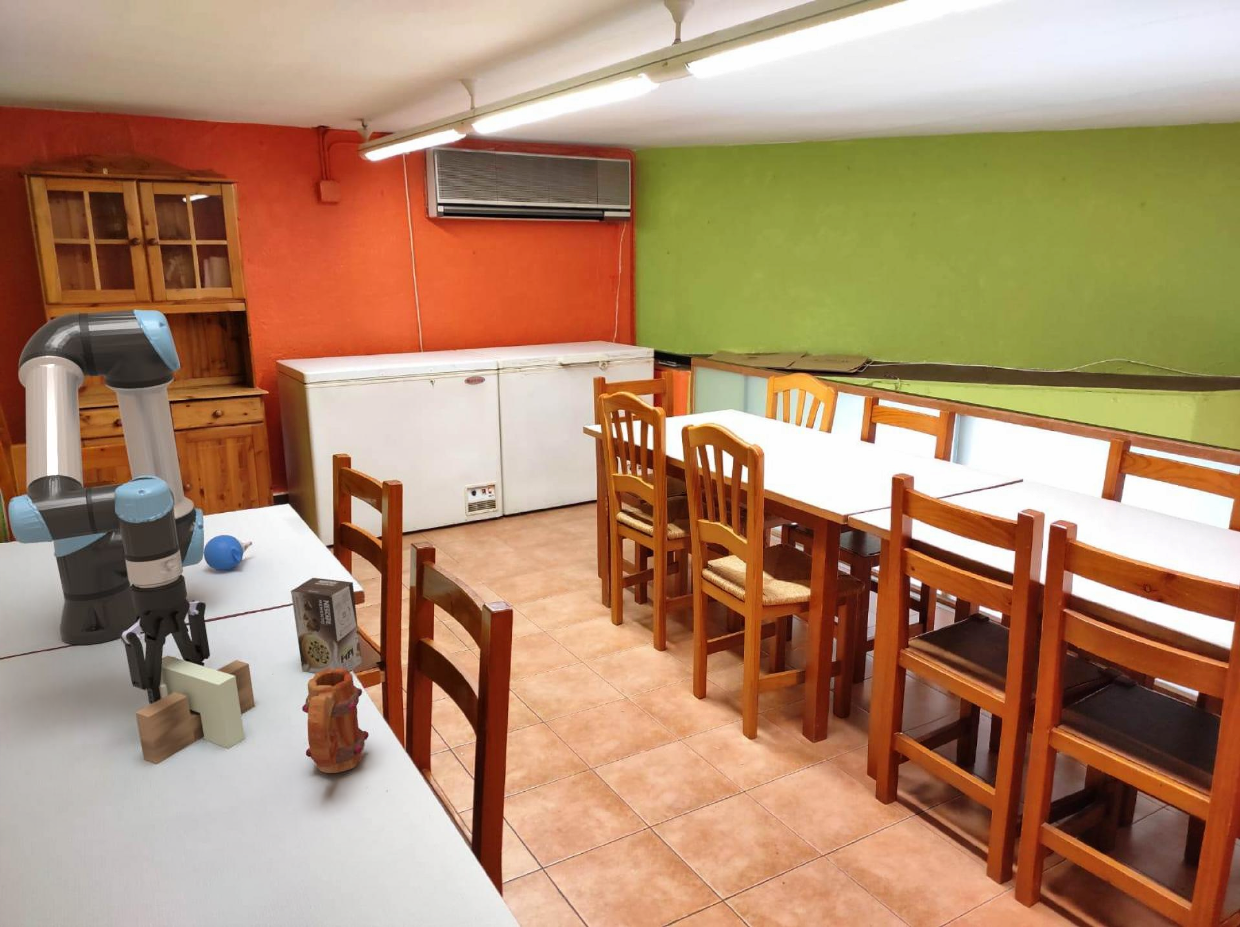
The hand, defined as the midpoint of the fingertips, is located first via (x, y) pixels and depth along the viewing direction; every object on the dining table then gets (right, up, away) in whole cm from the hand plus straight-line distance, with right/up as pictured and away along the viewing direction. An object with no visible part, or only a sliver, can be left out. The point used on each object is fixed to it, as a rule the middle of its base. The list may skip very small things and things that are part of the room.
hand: (179, 711), depth 137 cm
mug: (+30, -5, -13) cm, 33 cm away
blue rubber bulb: (-23, +15, +68) cm, 74 cm away
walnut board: (+5, -3, -2) cm, 5 cm away
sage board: (+5, -3, -2) cm, 5 cm away
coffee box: (+19, +3, +19) cm, 26 cm away
